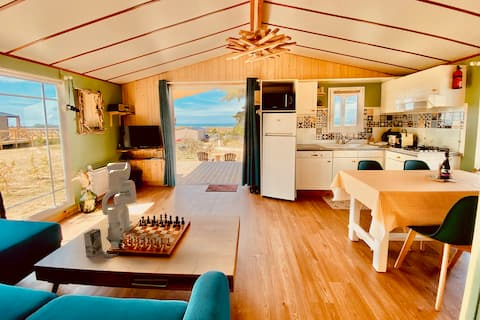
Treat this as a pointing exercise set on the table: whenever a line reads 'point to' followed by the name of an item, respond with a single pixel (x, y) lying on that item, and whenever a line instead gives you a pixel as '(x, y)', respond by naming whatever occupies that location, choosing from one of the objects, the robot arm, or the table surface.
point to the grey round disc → (110, 255)
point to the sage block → (115, 244)
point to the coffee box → (93, 242)
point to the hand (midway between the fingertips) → (116, 247)
